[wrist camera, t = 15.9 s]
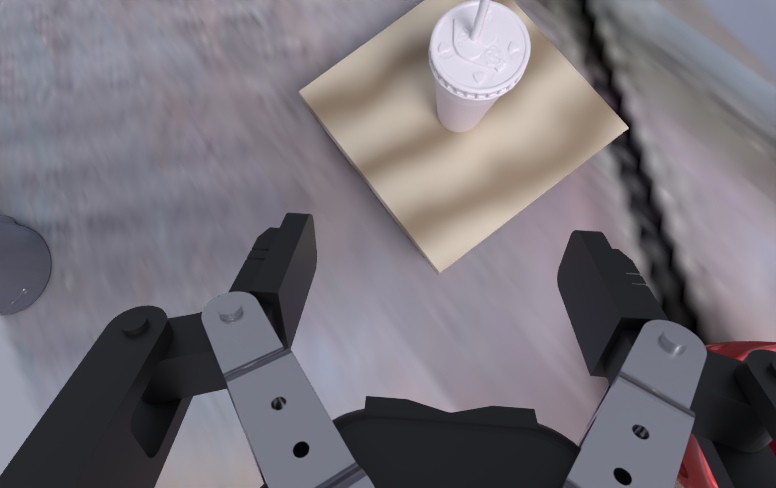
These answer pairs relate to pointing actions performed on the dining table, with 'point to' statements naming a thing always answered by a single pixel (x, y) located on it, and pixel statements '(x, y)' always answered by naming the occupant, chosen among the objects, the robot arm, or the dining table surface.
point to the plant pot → (693, 464)
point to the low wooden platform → (456, 134)
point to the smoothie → (476, 60)
